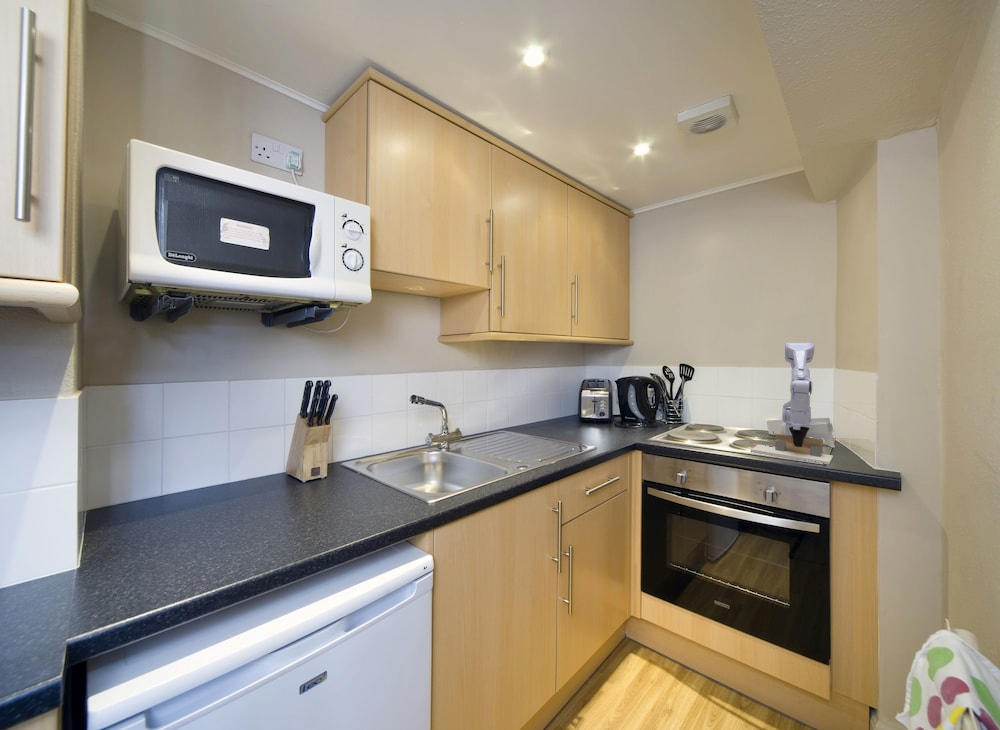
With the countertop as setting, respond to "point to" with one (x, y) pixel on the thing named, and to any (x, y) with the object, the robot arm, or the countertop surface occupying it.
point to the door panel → (805, 446)
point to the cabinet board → (793, 453)
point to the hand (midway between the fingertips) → (798, 446)
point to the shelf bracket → (817, 430)
